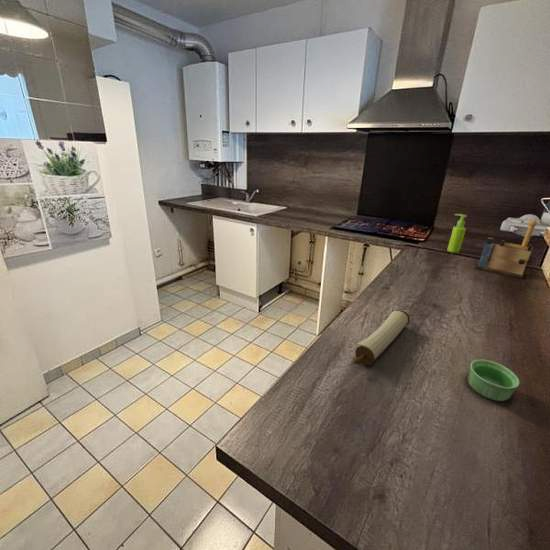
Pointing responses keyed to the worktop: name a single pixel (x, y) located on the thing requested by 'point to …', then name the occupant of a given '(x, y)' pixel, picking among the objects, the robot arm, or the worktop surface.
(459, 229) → the soap dispenser
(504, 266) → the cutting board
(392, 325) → the bamboo tube
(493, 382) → the ramekin
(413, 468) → the worktop surface
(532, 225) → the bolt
